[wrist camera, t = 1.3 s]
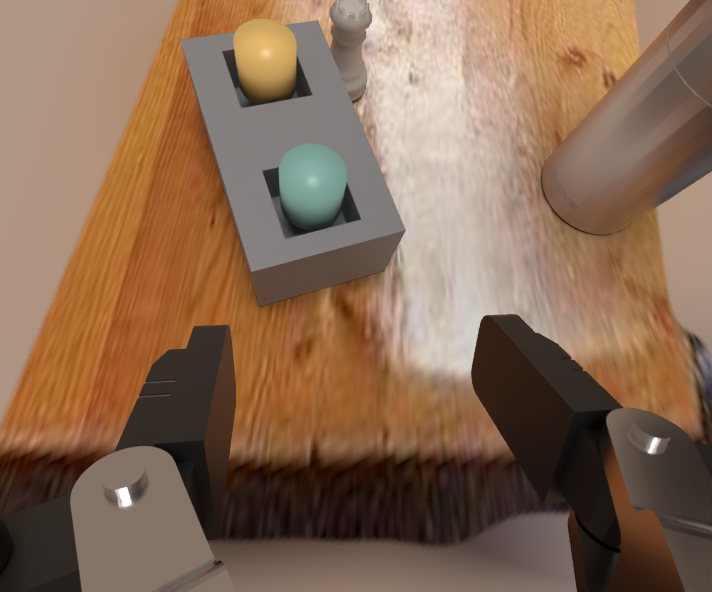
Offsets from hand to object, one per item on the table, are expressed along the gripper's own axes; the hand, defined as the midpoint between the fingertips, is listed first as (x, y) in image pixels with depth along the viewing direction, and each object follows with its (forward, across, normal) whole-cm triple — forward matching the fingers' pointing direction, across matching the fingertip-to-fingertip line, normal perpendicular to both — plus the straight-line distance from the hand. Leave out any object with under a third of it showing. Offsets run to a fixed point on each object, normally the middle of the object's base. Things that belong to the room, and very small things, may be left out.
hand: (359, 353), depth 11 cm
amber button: (+27, +3, -5) cm, 28 cm away
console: (+28, +1, +2) cm, 28 cm away
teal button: (+20, 0, +2) cm, 20 cm away
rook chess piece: (+36, -4, -5) cm, 36 cm away
